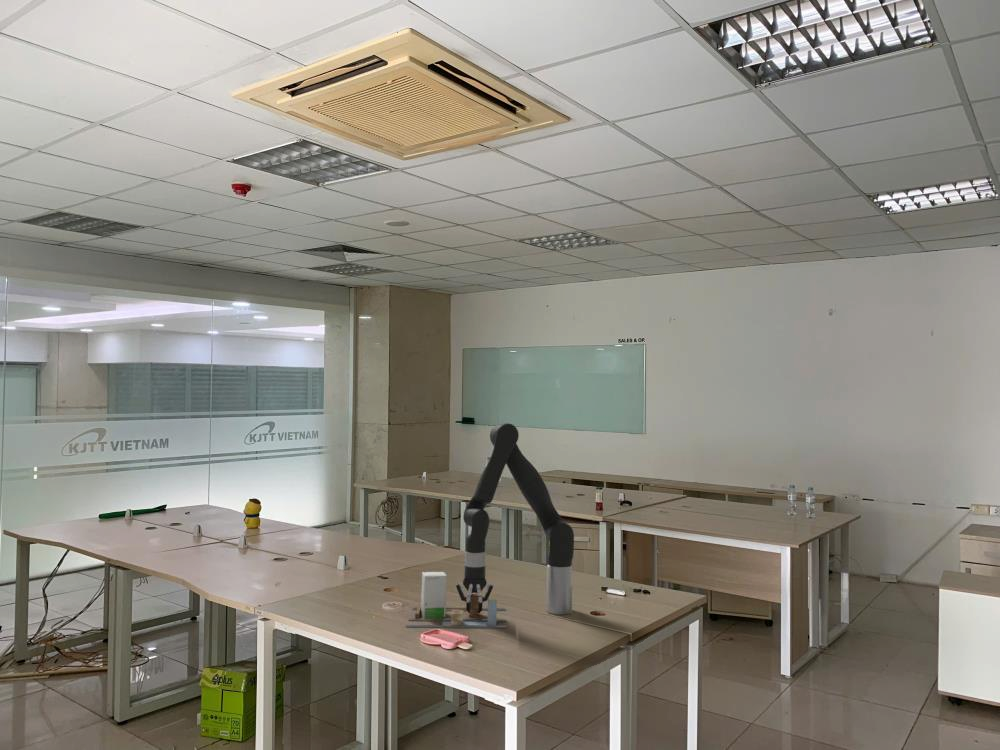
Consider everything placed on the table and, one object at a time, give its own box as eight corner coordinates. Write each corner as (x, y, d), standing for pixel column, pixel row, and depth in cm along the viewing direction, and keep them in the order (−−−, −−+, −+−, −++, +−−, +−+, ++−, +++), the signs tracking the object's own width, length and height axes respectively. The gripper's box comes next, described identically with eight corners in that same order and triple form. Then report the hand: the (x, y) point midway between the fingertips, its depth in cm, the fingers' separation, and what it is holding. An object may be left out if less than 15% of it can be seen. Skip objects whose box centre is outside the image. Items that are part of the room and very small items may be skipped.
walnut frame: (478, 613, 256) (478, 590, 256) (478, 623, 244) (478, 599, 244) (418, 612, 255) (418, 590, 256) (415, 622, 243) (415, 599, 244)
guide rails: (505, 612, 257) (505, 608, 257) (506, 631, 236) (506, 626, 236) (412, 611, 257) (412, 606, 257) (405, 630, 235) (405, 625, 235)
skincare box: (422, 621, 245) (423, 576, 246) (420, 615, 251) (420, 571, 252) (446, 619, 247) (447, 575, 248) (442, 614, 254) (443, 570, 254)
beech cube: (462, 622, 241) (463, 610, 241) (462, 625, 237) (462, 613, 237) (451, 622, 241) (451, 610, 241) (450, 625, 237) (450, 613, 237)
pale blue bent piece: (496, 624, 242) (496, 598, 242) (496, 629, 237) (496, 602, 237) (442, 624, 242) (443, 598, 242) (441, 629, 237) (442, 602, 237)
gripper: (494, 561, 254) (493, 609, 254) (456, 561, 254) (454, 609, 253) (494, 566, 247) (493, 616, 246) (455, 566, 247) (453, 615, 246)
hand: (474, 612), depth 250 cm, fingers closed on walnut frame, 3 cm apart
